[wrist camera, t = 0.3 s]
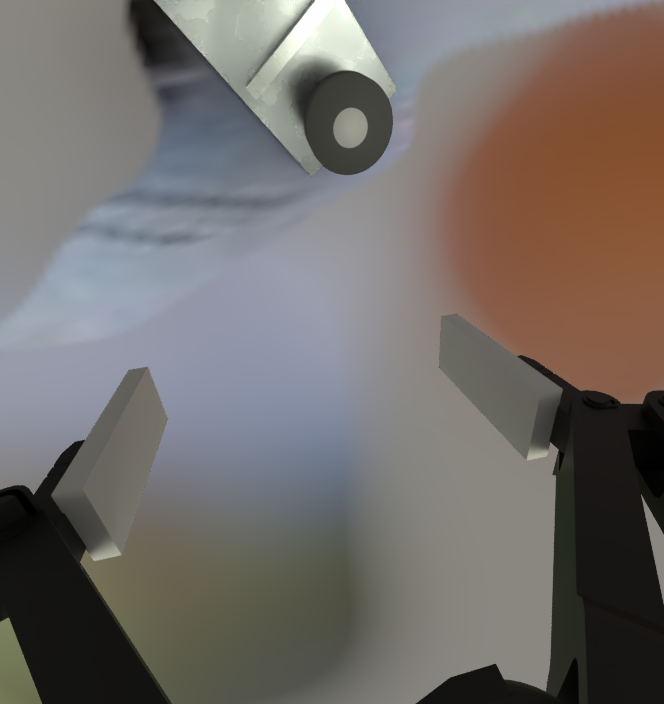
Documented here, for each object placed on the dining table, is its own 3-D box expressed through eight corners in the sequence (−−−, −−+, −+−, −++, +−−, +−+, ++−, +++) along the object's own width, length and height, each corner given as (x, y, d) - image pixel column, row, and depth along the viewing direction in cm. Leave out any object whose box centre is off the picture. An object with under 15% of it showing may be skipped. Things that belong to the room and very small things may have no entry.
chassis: (245, -155, 22) (246, -182, 19) (390, 86, 32) (406, 94, 29) (153, -6, 26) (140, -8, 23) (309, 170, 36) (315, 186, 32)
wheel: (346, 44, 25) (357, 48, 22) (394, 120, 28) (408, 131, 26) (284, 115, 27) (288, 126, 24) (336, 177, 30) (344, 192, 28)
